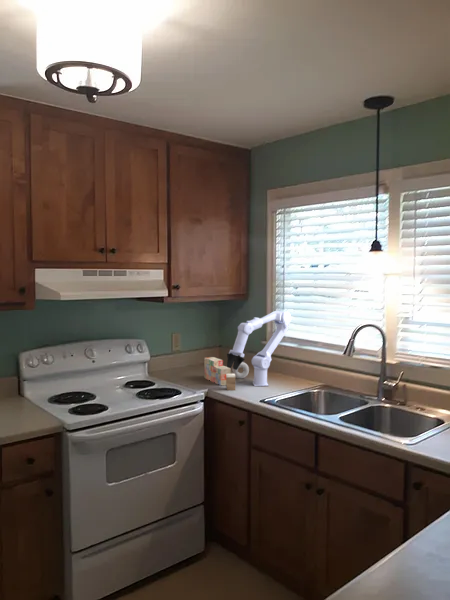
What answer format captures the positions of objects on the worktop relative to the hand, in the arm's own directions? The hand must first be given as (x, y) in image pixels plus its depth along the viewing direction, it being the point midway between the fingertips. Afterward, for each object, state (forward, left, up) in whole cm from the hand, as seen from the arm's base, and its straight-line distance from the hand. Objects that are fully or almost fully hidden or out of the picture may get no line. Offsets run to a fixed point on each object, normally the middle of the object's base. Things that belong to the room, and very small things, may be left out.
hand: (231, 368), depth 272 cm
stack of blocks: (-18, -7, -11) cm, 23 cm away
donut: (-24, +7, -11) cm, 27 cm away
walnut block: (+1, 0, -11) cm, 11 cm away
